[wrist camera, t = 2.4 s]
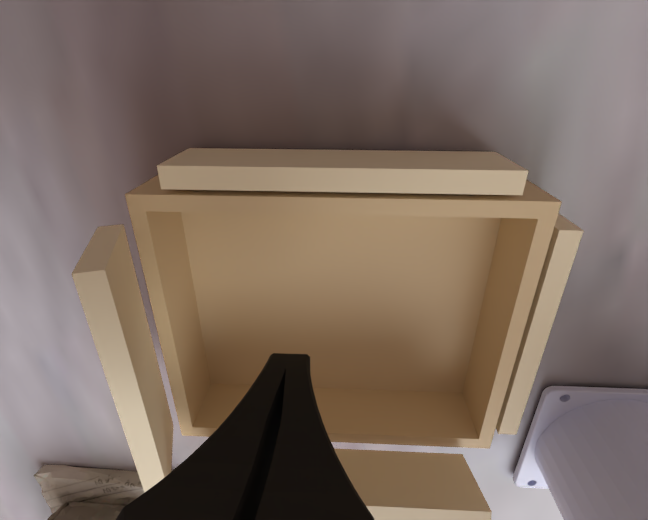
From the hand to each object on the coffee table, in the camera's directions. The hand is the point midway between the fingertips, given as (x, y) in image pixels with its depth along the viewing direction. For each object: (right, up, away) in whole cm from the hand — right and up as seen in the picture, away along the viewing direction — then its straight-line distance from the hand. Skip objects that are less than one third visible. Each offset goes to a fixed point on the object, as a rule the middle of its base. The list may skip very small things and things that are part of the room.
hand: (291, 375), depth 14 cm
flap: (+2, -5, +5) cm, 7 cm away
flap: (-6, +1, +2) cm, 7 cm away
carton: (+2, +2, +5) cm, 6 cm away
